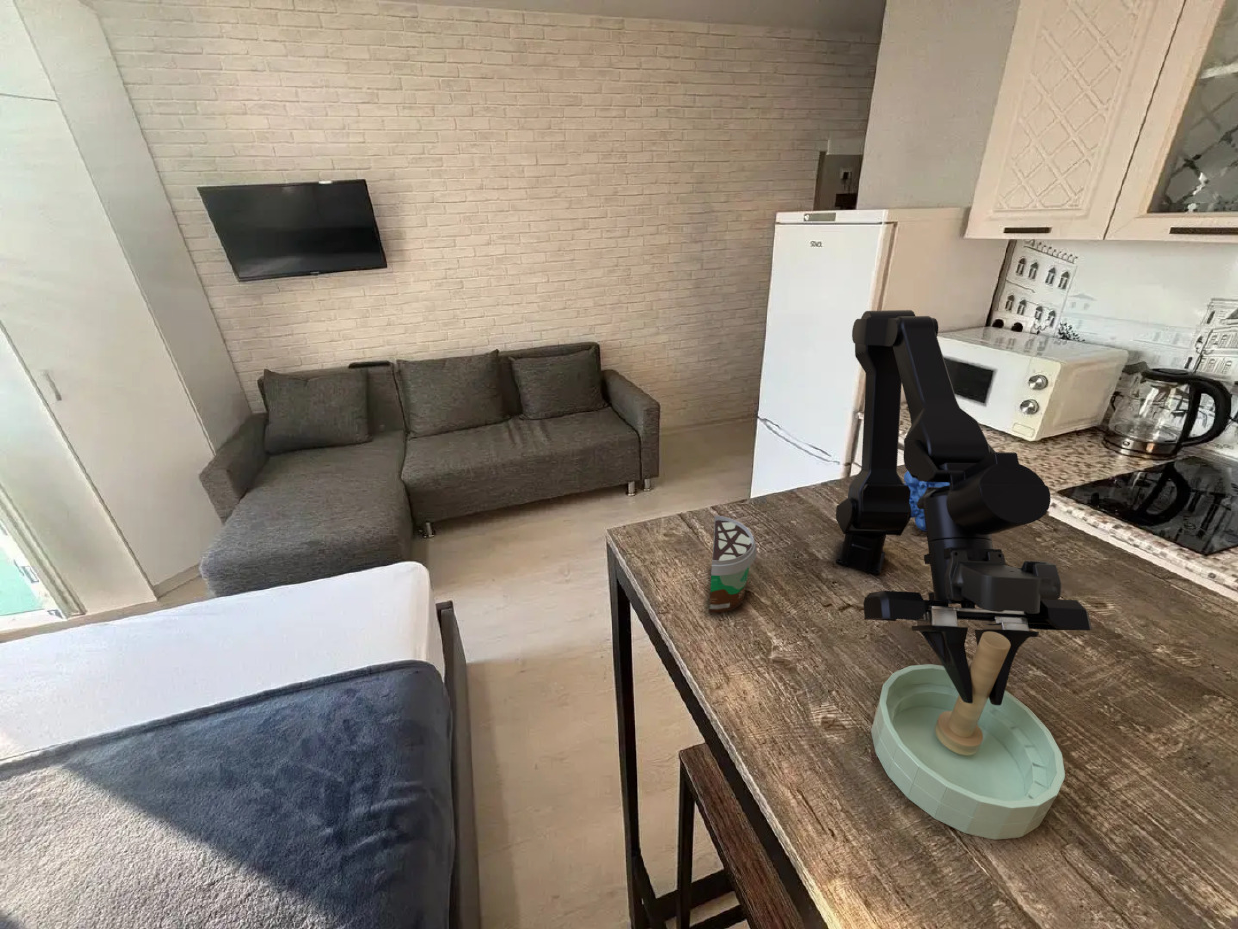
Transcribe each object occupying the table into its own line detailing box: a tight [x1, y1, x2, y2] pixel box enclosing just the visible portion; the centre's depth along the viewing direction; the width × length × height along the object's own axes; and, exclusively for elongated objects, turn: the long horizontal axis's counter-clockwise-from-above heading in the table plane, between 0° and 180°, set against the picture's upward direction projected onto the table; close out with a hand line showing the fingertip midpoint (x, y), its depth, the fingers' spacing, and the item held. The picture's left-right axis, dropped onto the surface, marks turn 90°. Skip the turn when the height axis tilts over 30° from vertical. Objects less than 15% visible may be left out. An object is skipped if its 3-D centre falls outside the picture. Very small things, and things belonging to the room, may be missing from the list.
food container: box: [708, 514, 758, 614], centre depth 74 cm, size 12×6×10 cm, turn 168°
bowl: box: [870, 663, 1066, 841], centre depth 51 cm, size 15×15×6 cm
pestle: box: [935, 631, 1011, 755], centre depth 50 cm, size 4×4×14 cm
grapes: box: [903, 470, 949, 532], centre depth 86 cm, size 12×7×12 cm, turn 51°
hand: (981, 704), depth 49 cm, fingers closed on pestle, 2 cm apart
